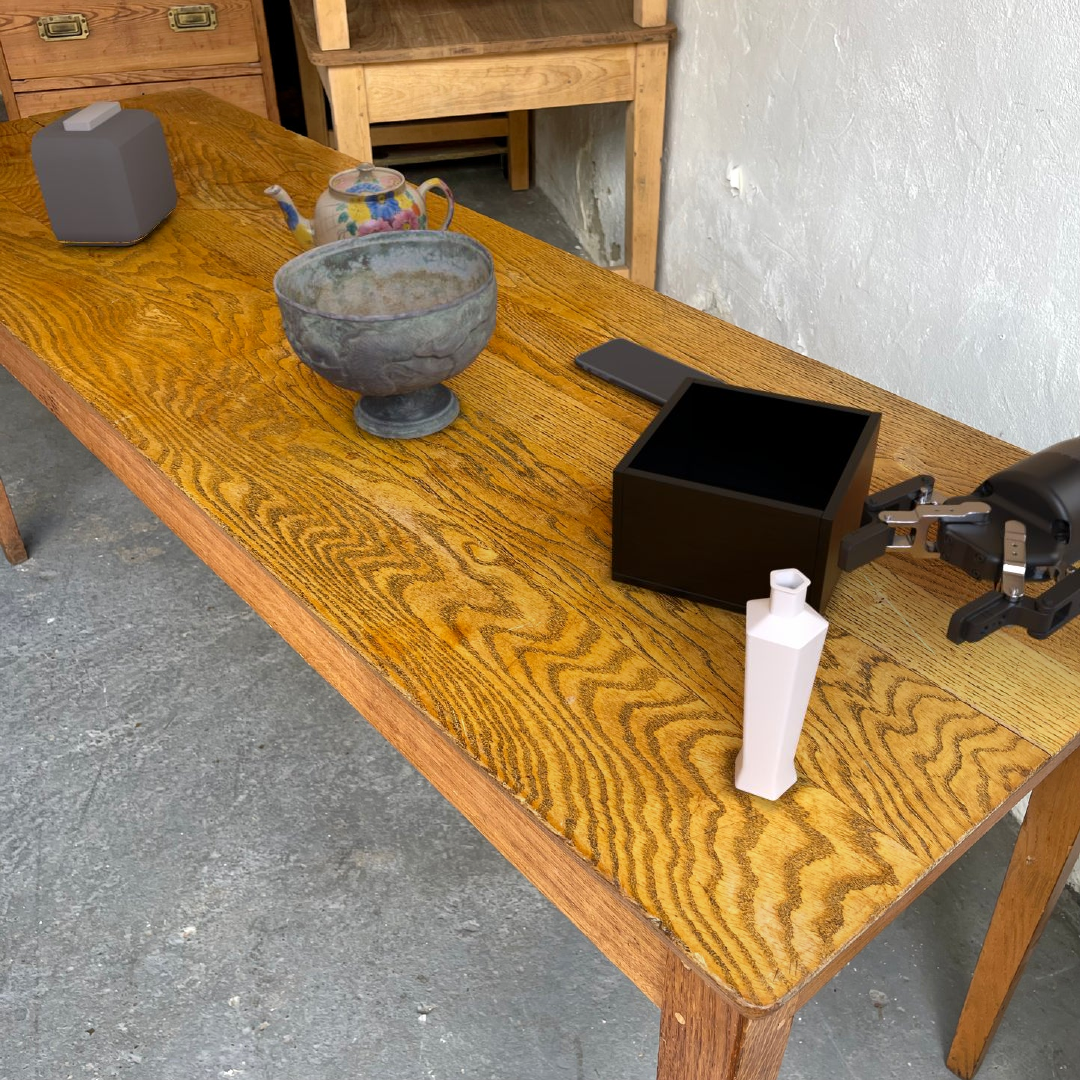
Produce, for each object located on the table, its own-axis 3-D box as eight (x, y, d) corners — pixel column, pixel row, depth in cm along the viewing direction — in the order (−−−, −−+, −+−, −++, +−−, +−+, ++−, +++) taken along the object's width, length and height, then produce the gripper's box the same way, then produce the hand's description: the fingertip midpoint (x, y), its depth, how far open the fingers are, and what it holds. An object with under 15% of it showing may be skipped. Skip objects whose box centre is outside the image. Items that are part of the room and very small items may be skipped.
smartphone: (682, 409, 103) (569, 357, 112) (681, 418, 103) (569, 365, 112) (732, 383, 107) (619, 334, 116) (731, 391, 108) (619, 342, 116)
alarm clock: (111, 209, 157) (81, 94, 148) (188, 210, 156) (163, 94, 146) (59, 252, 143) (23, 128, 134) (142, 253, 142) (112, 128, 133)
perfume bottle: (754, 735, 70) (777, 543, 61) (812, 772, 67) (845, 576, 59) (708, 775, 67) (726, 580, 59) (767, 814, 65) (795, 616, 56)
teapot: (409, 239, 144) (399, 134, 136) (470, 268, 135) (463, 158, 127) (271, 279, 134) (252, 169, 126) (327, 313, 125) (310, 197, 117)
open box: (864, 519, 89) (882, 412, 83) (815, 634, 78) (833, 519, 72) (681, 478, 95) (686, 376, 89) (610, 580, 84) (612, 470, 78)
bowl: (291, 383, 111) (266, 239, 103) (479, 357, 115) (469, 215, 106) (307, 484, 96) (279, 324, 87) (524, 450, 99) (517, 293, 91)
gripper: (983, 412, 76) (816, 489, 69) (1181, 505, 67) (1009, 605, 59) (962, 502, 81) (802, 583, 74) (1144, 601, 71) (981, 706, 64)
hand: (895, 593), depth 67 cm, fingers open, 8 cm apart
